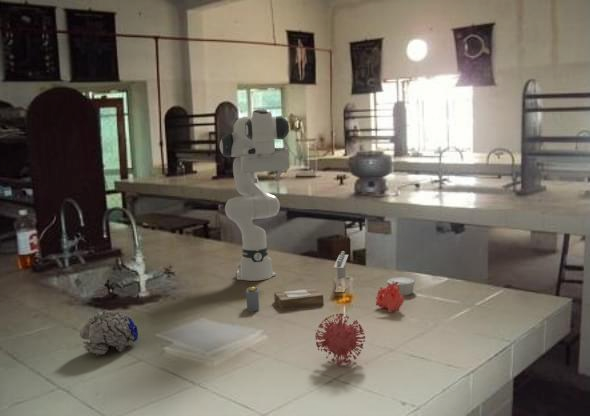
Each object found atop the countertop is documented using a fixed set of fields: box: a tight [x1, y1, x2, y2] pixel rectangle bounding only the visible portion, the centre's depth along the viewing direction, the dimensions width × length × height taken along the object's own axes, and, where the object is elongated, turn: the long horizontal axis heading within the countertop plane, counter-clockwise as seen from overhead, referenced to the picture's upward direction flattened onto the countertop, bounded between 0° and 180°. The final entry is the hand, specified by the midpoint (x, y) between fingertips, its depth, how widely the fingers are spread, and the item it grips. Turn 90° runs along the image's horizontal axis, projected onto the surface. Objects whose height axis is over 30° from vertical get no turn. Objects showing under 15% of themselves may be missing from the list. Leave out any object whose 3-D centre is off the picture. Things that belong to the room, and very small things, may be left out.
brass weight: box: [248, 286, 257, 292], centre depth 246 cm, size 3×3×2 cm
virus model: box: [314, 313, 366, 365], centre depth 188 cm, size 15×15×15 cm
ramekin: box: [386, 276, 415, 297], centre depth 260 cm, size 11×11×5 cm
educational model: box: [79, 309, 139, 357], centre depth 208 cm, size 14×20×15 cm
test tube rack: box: [333, 250, 350, 293], centre depth 276 cm, size 25×4×13 cm, turn 170°
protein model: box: [375, 282, 405, 314], centre depth 238 cm, size 9×12×12 cm
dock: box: [273, 287, 325, 311], centre depth 251 cm, size 12×17×4 cm
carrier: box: [245, 287, 260, 312], centre depth 247 cm, size 6×4×8 cm
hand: (266, 182), depth 260 cm, fingers open, 8 cm apart
